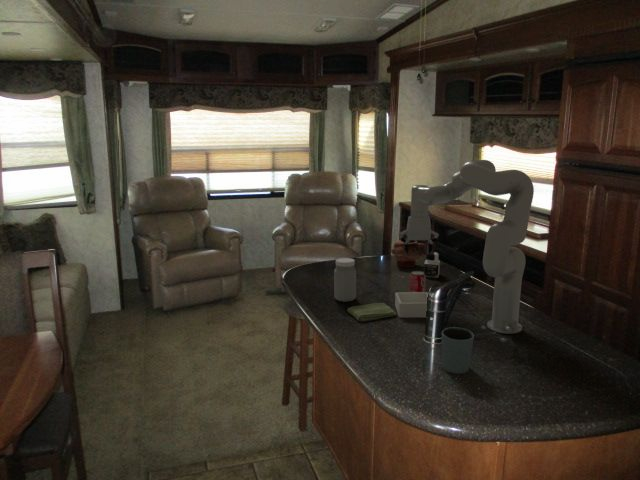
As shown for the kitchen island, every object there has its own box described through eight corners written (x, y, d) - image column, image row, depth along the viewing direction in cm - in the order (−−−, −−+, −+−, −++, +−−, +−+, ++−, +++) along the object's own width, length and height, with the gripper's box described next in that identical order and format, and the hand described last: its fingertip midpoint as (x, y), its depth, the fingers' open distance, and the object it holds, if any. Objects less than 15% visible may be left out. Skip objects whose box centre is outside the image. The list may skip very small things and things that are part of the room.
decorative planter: (420, 261, 298) (421, 236, 295) (430, 266, 287) (431, 241, 284) (387, 263, 293) (387, 239, 290) (395, 269, 282) (396, 244, 279)
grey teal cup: (448, 358, 179) (450, 324, 177) (477, 366, 173) (479, 332, 170) (434, 369, 172) (435, 334, 169) (464, 378, 165) (466, 342, 163)
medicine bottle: (423, 276, 269) (424, 253, 266) (425, 273, 276) (426, 250, 273) (438, 278, 267) (439, 254, 264) (439, 274, 274) (440, 251, 271)
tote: (432, 317, 215) (433, 303, 214) (399, 317, 216) (399, 303, 214) (426, 305, 229) (427, 292, 227) (395, 305, 229) (395, 292, 228)
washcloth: (398, 317, 217) (398, 309, 216) (359, 323, 211) (359, 316, 210) (383, 307, 229) (383, 300, 228) (345, 312, 223) (345, 305, 222)
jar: (359, 300, 236) (360, 261, 232) (339, 303, 232) (339, 264, 228) (350, 294, 244) (350, 256, 240) (330, 297, 241) (330, 258, 237)
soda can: (424, 296, 241) (425, 270, 238) (425, 301, 234) (426, 275, 231) (408, 295, 241) (409, 270, 239) (409, 301, 235) (410, 274, 232)
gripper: (437, 212, 232) (436, 250, 236) (398, 212, 233) (397, 250, 237) (441, 215, 225) (439, 254, 229) (400, 215, 225) (399, 254, 230)
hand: (417, 252), depth 233 cm, fingers open, 9 cm apart
